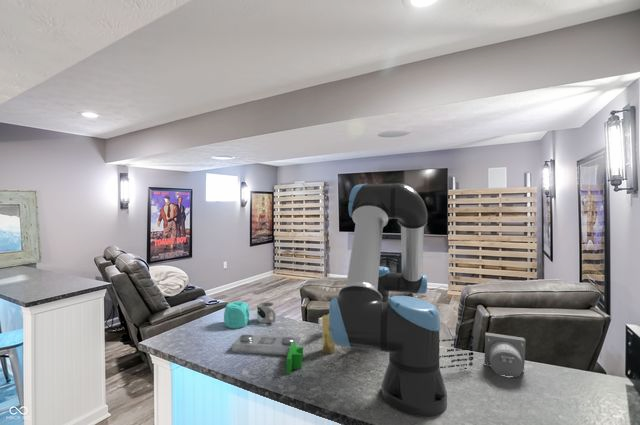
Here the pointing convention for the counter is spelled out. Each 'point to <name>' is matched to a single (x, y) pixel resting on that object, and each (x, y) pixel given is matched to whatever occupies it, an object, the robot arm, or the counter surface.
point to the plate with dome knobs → (264, 344)
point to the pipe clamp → (294, 358)
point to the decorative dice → (236, 315)
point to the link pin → (327, 337)
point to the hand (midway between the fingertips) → (335, 327)
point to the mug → (266, 313)
